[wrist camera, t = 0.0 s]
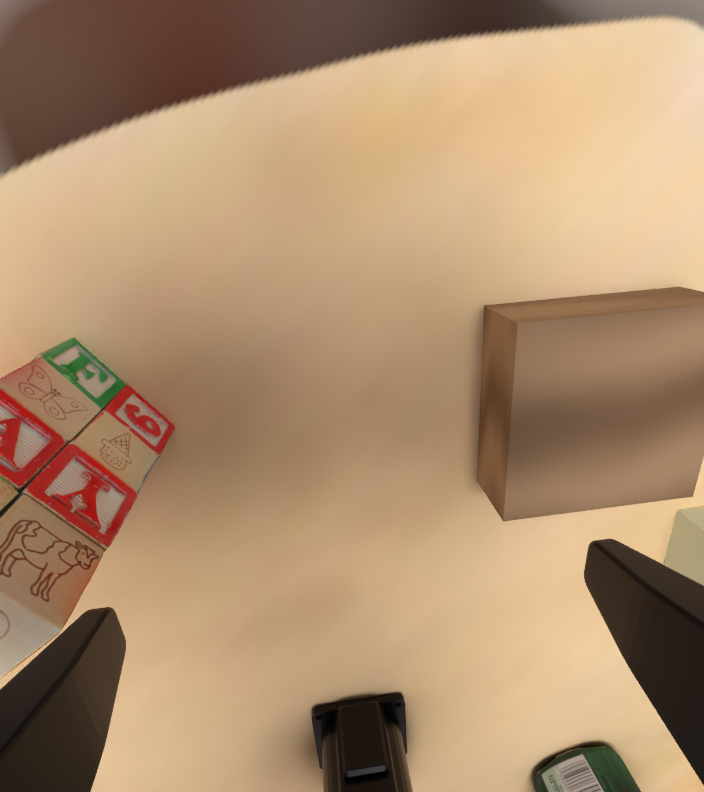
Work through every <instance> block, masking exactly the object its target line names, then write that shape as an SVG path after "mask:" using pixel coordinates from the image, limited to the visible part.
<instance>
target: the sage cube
mask: <svg viewBox="0 0 704 792" xmlns="http://www.w3.org/2000/svg"><path fill="white" fill-rule="evenodd" d="M664 565H665V566H667V567H669V568H671V569H673V570H675V571H676V572H678V573H680V574H682V575H684V576H686V577H688V578H690V579H692V580H694V581H696V582H698V583H700V584H702V585H704V506H701V507H694V508H686V509H679V510H677V513H676V517H675V521H674V525H673V529H672V533H671V537H670V541H669V545H668V549H667V553H666V557H665V561H664Z"/></svg>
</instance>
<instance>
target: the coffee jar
mask: <svg viewBox="0 0 704 792" xmlns="http://www.w3.org/2000/svg"><path fill="white" fill-rule="evenodd" d="M535 791H536V792H641V791H640V789H639V787H638V786H637V784H636V782H635V781H634V779H633V777H632V776H631V774H630V772H629V770H628V769H627V767H626V765H625V764H624V762H623V761H622V759H621V757H620V756H619V755H618V754H617V753H616V752H615V751H613V750H612V749H610V748H608V747H605V746H600V747H586V748H575V749H572V750H569V751H567V752H564V753H562V754H560V755H558V756H556V757H555V759H554V760H552V761H551V762H550V763H548V764H547V765H546V766H545V767H544V768H542V769H541V770H539V771H538V772H537V774H536V776H535Z"/></svg>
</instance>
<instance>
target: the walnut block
mask: <svg viewBox="0 0 704 792" xmlns="http://www.w3.org/2000/svg"><path fill="white" fill-rule="evenodd" d="M703 456H704V292H701V291H696V290H691V289H687V288H682V287H673V288H662V289H652V290H641V291H631V292H620V293H610V294H600V295H589V296H579V297H568V298H558V299H548V300H537V301H527V302H516V303H506V304H496V305H485V306H484V329H483V352H482V376H481V399H480V422H479V446H478V469H477V481H478V483H479V484H480V486H481V488H482V489H483V491H484V492H485V494H486V495H487V497H488V498H489V500H490V501H491V503H492V505H493V506H494V508H495V509H496V511H497V512H498V514H499V515H500V517H501V518H502V520H503V521H509V520H517V519H525V518H532V517H540V516H547V515H555V514H563V513H570V512H578V511H586V510H593V509H601V508H609V507H616V506H624V505H631V504H639V503H647V502H654V501H662V500H670V499H677V498H685V497H692V496H693V494H694V490H695V486H696V482H697V479H698V475H699V471H700V467H701V464H702V460H703Z"/></svg>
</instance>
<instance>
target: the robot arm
mask: <svg viewBox="0 0 704 792" xmlns="http://www.w3.org/2000/svg"><path fill="white" fill-rule="evenodd" d="M584 579H585V583H586V585H587V588H588V590H589V592H590V593H591V595H592V597H593V599H594V601H595V603H596V605H597V607H598V609H599V611H600V613H601V615H602V617H603V619H604V621H605V623H606V625H607V627H608V629H609V631H610V632H611V634H612V636H613V638H614V640H615V642H616V644H617V646H618V648H619V650H620V652H621V654H622V656H623V657H624V659H625V661H626V663H627V665H628V666H629V668H630V670H631V671H632V673H633V675H634V676H635V678H636V679H637V681H638V683H639V684H640V686H641V687H642V689H643V690H644V692H645V694H646V695H647V697H648V698H649V700H650V701H651V703H652V705H653V706H654V708H655V709H656V711H657V712H658V714H659V716H660V717H661V719H662V720H663V722H664V724H665V725H666V727H667V728H668V730H669V731H670V733H671V735H672V736H673V738H674V739H675V741H676V742H677V744H678V746H679V747H680V749H681V750H682V752H683V753H684V755H685V757H686V758H687V760H688V761H689V763H690V764H691V766H692V768H693V769H694V771H695V772H696V774H697V776H698V777H699V779H700V780H701V782H702V783H703V785H704V585H702V584H700V583H698V582H696V581H694V580H692V579H690V578H688V577H686V576H684V575H682V574H680V573H678V572H676V571H675V570H673V569H671V568H669V567H667V566H665V565H663V564H661V563H659V562H657V561H655V560H653V559H651V558H649V557H647V556H645V555H643V554H641V553H639V552H638V551H636V550H634V549H632V548H630V547H628V546H626V545H624V544H622V543H620V542H618V541H616V540H613V539H604V540H597V541H593V542H591V543H590V544H589V547H588V552H587V558H586V564H585V570H584ZM125 651H126V640H125V636H124V634H123V631H122V628H121V626H120V623H119V620H118V618H117V615H116V612H115V611H114V609H112V608H110V607H106V608H98V609H91V610H88V611H86V612H85V613H84V614H82V615H81V616H80V617H79V618H78V619H77V620H76V621H75V622H74V623H73V624H71V625H70V626H69V627H68V628H67V629H66V630H65V631H64V632H63V633H62V634H61V635H59V636H58V637H57V638H56V639H55V640H54V641H53V642H52V643H51V644H50V645H49V646H47V647H46V648H45V649H44V650H43V651H42V652H41V653H40V654H39V655H38V656H36V657H35V658H34V659H33V660H32V661H31V662H30V663H29V664H28V665H27V666H26V667H24V668H23V669H22V670H21V671H20V672H19V673H18V674H17V675H16V676H15V677H14V678H12V679H11V680H10V681H9V682H8V683H7V684H6V685H5V686H4V687H3V688H2V689H0V792H90V791H91V788H92V785H93V782H94V779H95V776H96V773H97V769H98V766H99V763H100V760H101V756H102V753H103V750H104V746H105V742H106V738H107V734H108V730H109V725H110V721H111V716H112V712H113V707H114V702H115V698H116V693H117V689H118V684H119V679H120V675H121V670H122V666H123V661H124V657H125ZM312 722H313V729H314V735H315V741H316V747H317V753H318V759H319V765H320V768H321V769H323V787H324V792H413V790H412V785H411V780H410V775H409V770H408V765H407V760H406V754H407V740H406V714H405V701H404V697H403V696H402V695H400V694H396V695H389V696H383V697H377V698H370V699H364V700H358V701H351V702H345V703H339V704H332V705H326V706H319V707H315V708H314V709H313V710H312Z"/></svg>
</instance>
